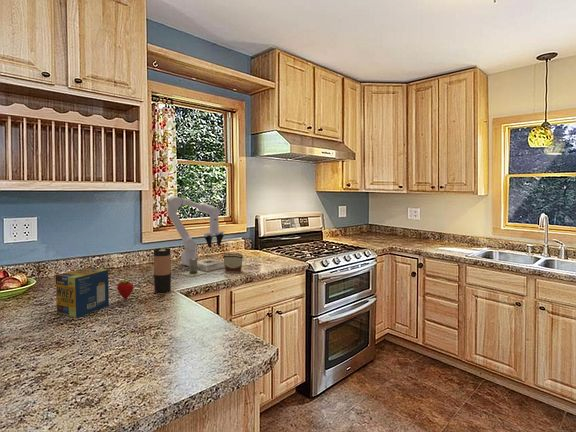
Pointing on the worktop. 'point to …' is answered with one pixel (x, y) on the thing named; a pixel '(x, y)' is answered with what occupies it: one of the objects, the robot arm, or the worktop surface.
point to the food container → (233, 262)
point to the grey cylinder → (193, 265)
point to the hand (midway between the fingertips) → (214, 246)
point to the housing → (210, 264)
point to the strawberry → (125, 288)
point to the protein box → (82, 291)
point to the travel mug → (162, 270)
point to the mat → (193, 274)
